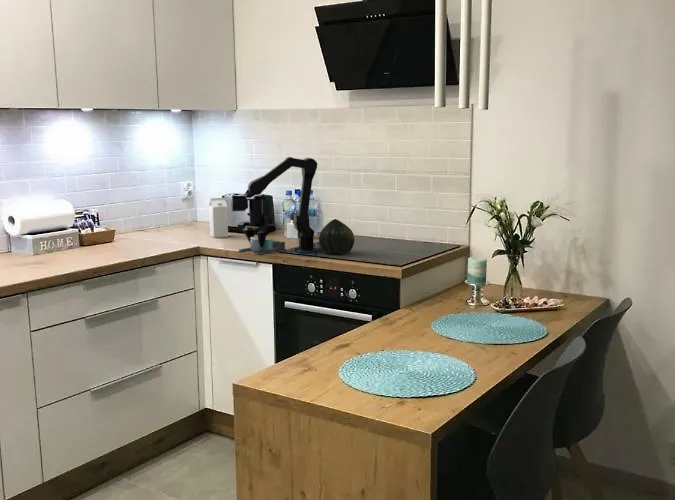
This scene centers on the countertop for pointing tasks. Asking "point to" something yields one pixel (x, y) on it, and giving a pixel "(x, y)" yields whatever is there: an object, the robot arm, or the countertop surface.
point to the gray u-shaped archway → (275, 247)
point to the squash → (336, 238)
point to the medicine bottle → (292, 229)
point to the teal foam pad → (267, 244)
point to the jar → (255, 244)
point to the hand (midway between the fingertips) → (257, 246)
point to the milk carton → (218, 218)
